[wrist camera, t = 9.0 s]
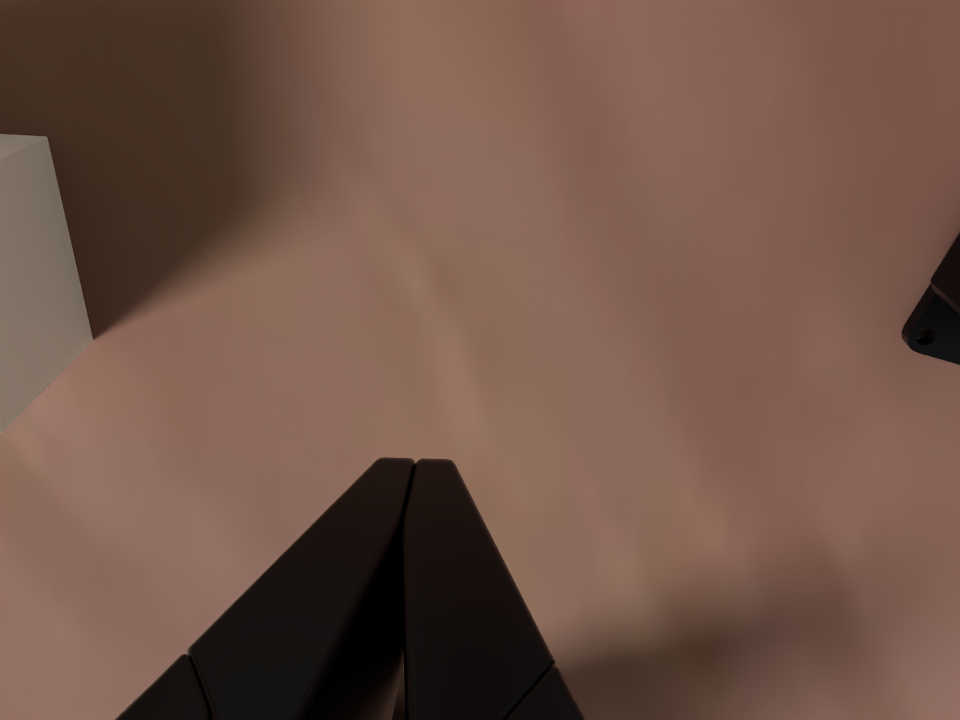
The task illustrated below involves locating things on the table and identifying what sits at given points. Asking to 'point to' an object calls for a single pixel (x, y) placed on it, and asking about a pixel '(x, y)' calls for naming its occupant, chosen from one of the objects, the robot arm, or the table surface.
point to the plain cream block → (35, 277)
